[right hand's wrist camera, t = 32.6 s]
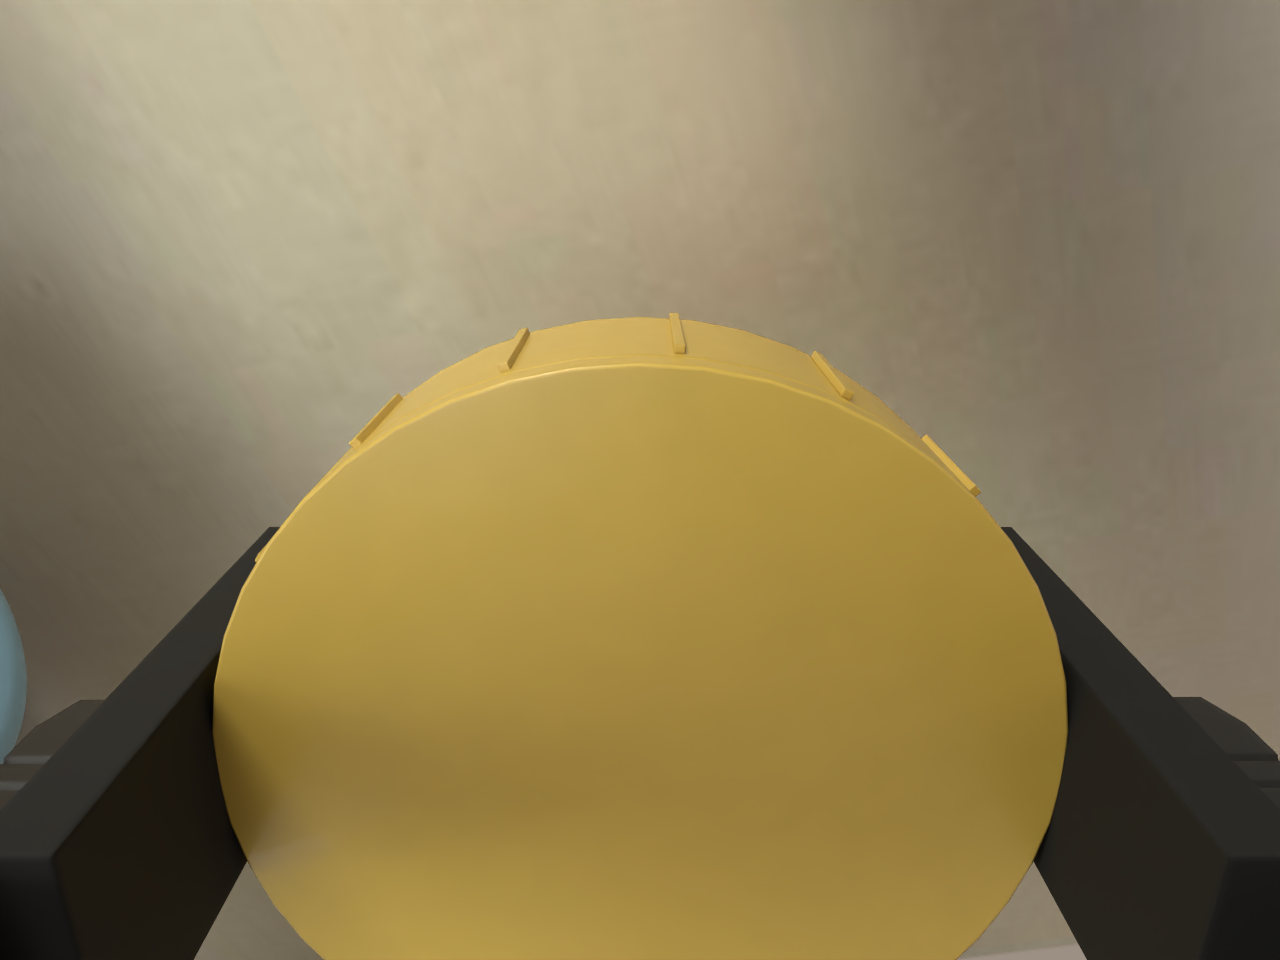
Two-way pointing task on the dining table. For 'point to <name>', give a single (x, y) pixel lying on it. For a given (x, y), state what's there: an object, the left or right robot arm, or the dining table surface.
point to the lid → (640, 669)
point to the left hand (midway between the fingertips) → (733, 732)
